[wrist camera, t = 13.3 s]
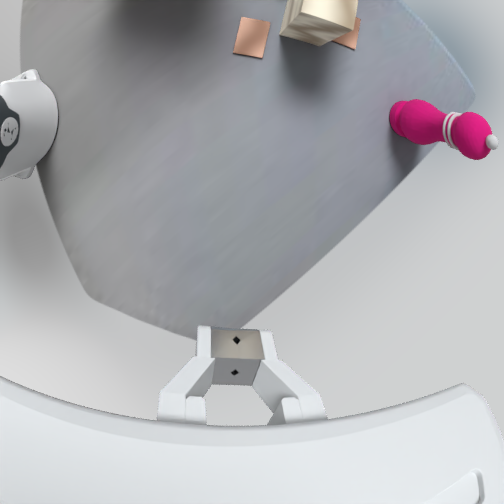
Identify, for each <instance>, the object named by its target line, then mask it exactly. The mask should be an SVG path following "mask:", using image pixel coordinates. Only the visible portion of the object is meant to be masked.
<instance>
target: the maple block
mask: <svg viewBox="0 0 504 504" xmlns="http://www.w3.org/2000/svg"><path fill="white" fill-rule="evenodd" d="M357 5H358V0H287V5H286V9H285V13H284V17H283V21H282V26H281V30H280V34H279V35H282V36H286V37H290V38H293V39H297V40H300V41H304V42H307V43H311V44H314V45H317V46H322V45H323V44H325V43H327V42H329V41H331V40H333V39H335V38H338V37H340V36H342V35H344V34H346V33H348V32H350V31H353V29H354V23H355V17H356V11H357Z"/></svg>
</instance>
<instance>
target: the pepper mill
mask: <svg viewBox="0 0 504 504" xmlns="http://www.w3.org/2000/svg"><path fill="white" fill-rule="evenodd" d="M390 123H391V126H392V128H393V130H394V131H395V132H396V133H397V134H398V135H400V136H403V137H406V138H408V139H409V140H410V141H411V142H413V143H416V144H421V145H426V144H431V143H434V142H437V141H442V142H446V143H447V144H448V146H450V147H451V148H454V149H456V150H459V151H460V152H461V153H462V154H463V155H464V156H466V157H468V158H470V159H474V160H479V159H482V158H485V157H486V156H487V155H488V154H489V152H490V150H491V149H492V150H494V149H496V148H497V147H498V140H497V138H496V137H495V136H494V135H492V131H491V128H490V126H489V124H488V123H487V121H486V120H485V119H484V118H483V117H482V116H480V115H478V114H476V113H473V112H465V113H463V114H460V113H456V112H451V113H449V114H445V113H442V112H441V111H439V110H438V109H437V108H435V107H434V106H433V105H431V104H430V103H428V102H426V101H423V100H418V99H414V100H410V101H399V102H397V103H395V104H394V105H393V107H392V108H391V111H390Z"/></svg>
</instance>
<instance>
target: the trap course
mask: <svg viewBox="0 0 504 504" xmlns="http://www.w3.org/2000/svg"><path fill="white" fill-rule="evenodd" d="M360 20H361V19H359V18H357V17H355V23H354V29H353V31H350V32H348V33H346V34H344V35H342V36H340V37H338V38H335V39H333V40H331V41H334V42H337V43H339V44H342V45H345V46H347V47H350V48H352V49H355V48H356V43H357V37H358V32H359V26H360ZM269 27H270V22H266V21H261V20H256V19H251V18H245V17H242V18H241V22H240V26H239V30H238V34H237V38H236V42H235V47H234V51H233V53H236V54H242V55H248V56H253V57H259V58H262V57H263V53H264V48H265V44H266V40H267V35H268V31H269Z"/></svg>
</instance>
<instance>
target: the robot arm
mask: <svg viewBox="0 0 504 504" xmlns="http://www.w3.org/2000/svg"><path fill="white" fill-rule="evenodd" d="M25 78H26V79H25ZM57 124H58V108H57V103H56V99H55V97H54V94H53V93H52V91H51V90H50V88H49V87H48V86H46V85H45V84H44V83H43V82H42V81H41V80H40V77H39V74H38V72H37V70H35V69H31V70H28V71H26V72H24V73H22V74H20V75H18V76H17V77H15V78H13V79H11V80H9V81H3V82H2V83H1V85H0V181H1V180H4V179H6V178H9V177H11V176H15V177H19V178H22V179H26V178H29V177H30V175H31V174H32V172H33V170H34V167H35V165H36V164H37V162H38V161H39V160H41V159H42V158H43V157H44V155H45V154H46V153H47V152H48V150H49V148H50V147H51V145H52V143H53V140H54V137H55V134H56V130H57ZM211 384H219V385H220V384H221V385H250V386H252V387H253V389H254V390H255V391H256V392H257V394H258V395H259V396H260V397H261V399H262V400H263V401H264V402H265V403H266V405H267V406H268V407H269V409H270V410H271V411H272V412H273V413H274V414H273V416H272V417H271V419H270V421H269V423H268V424H267V425H261V426H210V425H206V403H205V402H206V401H205V399H203V396H204V395H205V394H206V392H207V391H208V389H209V388H210V386H211ZM0 504H504V440H503V437H502V434H501V432H500V429H499V427H498V424H497V422H496V420H495V418H494V415H493V413H492V411H491V409H490V407H489V405H488V403H487V402H486V400H485V399H484V397H483V396H482V395H481V394H480V393H479V392H477V391H476V390H474V389H473V388H471V387H470V386H468V385H466V384H464V383H461V384H458V385H455V386H453V387H450V388H448V389H445V390H442V391H439V392H437V393H434V394H431V395H428V396H425V397H422V398H419V399H416V400H413V401H409V402H406V403H402V404H398V405H395V406H391V407H387V408H383V409H379V410H375V411H370V412H366V413H361V414H356V415H351V416H345V417H340V418H334V419H327V415H326V412H325V409H324V406H323V403H322V399H321V396H320V394H319V393H318V392H317V391H315V390H314V389H313V388H312V387H311V386H310V385H308V383H306V382H305V381H304V380H303V379H302V378H301V377H300V376H299V375H298V374H297V373H295V372H294V371H293V370H292V369H291V368H290V367H289V366H288V365H287V364H286V363H285V362H284V361H283V360H278V356H277V351H276V347H275V343H274V339H273V335H272V331H271V330H255V329H232V328H221V327H212V326H211V327H209V326H200V325H198V331H197V343H196V356H193V357H192V358H191V359H190V360H189V361H188V362H187V363H186V364H185V366H184V367H183V368H182V369H181V370H180V371H179V372H178V373H177V374H176V375H175V376H174V377H173V378H172V379H171V381H170V382H169V383H168V384H167V385H166V386H165V387H164V388H163V389H162V390H161V391H160V395H159V404H158V413H157V421H154V420H147V419H140V418H135V417H129V416H124V415H118V414H113V413H109V412H104V411H100V410H96V409H92V408H88V407H84V406H80V405H77V404H73V403H70V402H67V401H63V400H60V399H57V398H54V397H51V396H48V395H45V394H43V393H40V392H37V391H34V390H32V389H29V388H27V387H24V386H22V385H19V384H17V383H15V382H12V381H10V380H8V379H6V378H3V377H1V376H0Z"/></svg>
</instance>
